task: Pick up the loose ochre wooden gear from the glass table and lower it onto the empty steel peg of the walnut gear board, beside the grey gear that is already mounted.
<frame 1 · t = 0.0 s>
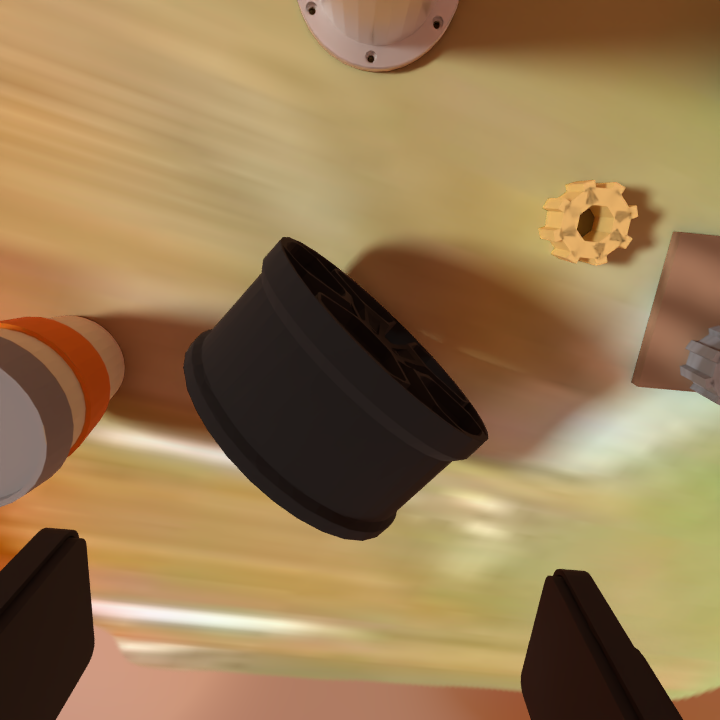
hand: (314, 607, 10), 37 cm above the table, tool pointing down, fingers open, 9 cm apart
reusable coffee cup: (78, 361, 47), on the table
car wheel rim: (345, 344, 47), on the table
ochre gear: (577, 221, 43), on the table
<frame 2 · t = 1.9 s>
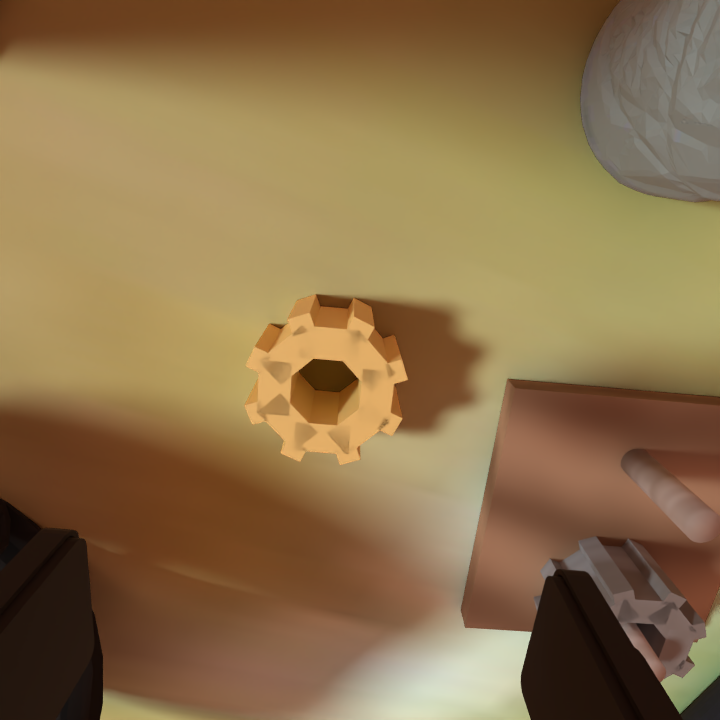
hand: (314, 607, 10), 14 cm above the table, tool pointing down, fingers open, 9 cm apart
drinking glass: (676, 85, 20), on the table
ochre gear: (329, 363, 24), on the table
gear board: (603, 513, 26), on the table
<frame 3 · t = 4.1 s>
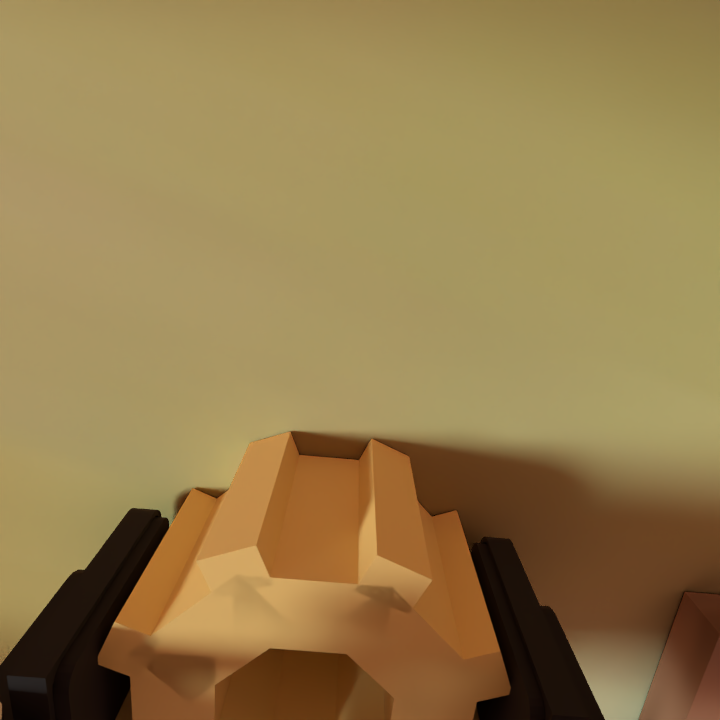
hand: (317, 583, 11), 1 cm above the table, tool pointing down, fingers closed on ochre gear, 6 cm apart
ochre gear: (320, 562, 11), on the table, touching gripper
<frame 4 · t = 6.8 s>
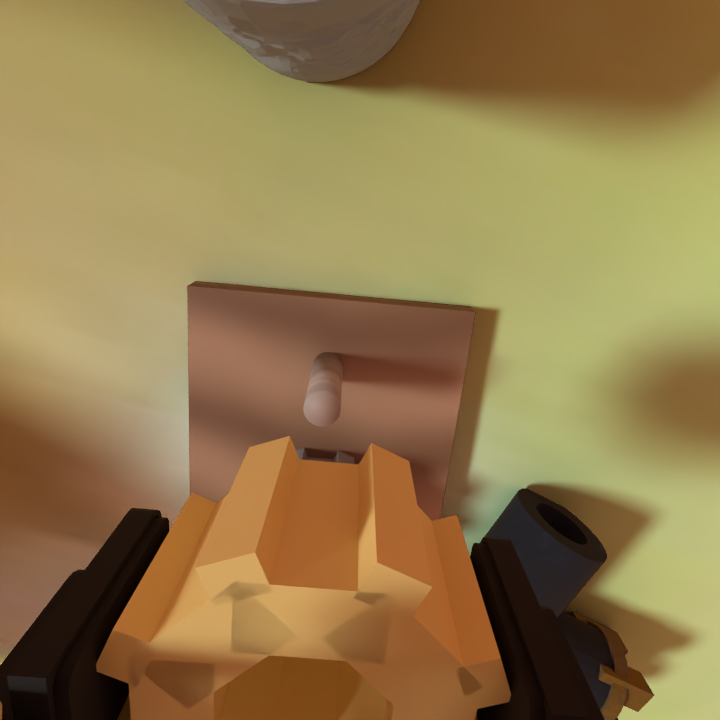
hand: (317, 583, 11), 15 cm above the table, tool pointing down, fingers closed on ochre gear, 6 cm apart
ochre gear: (319, 567, 11), point 14 cm above the table, touching gripper
gear board: (323, 427, 26), on the table
pipe connector: (514, 608, 31), on the table
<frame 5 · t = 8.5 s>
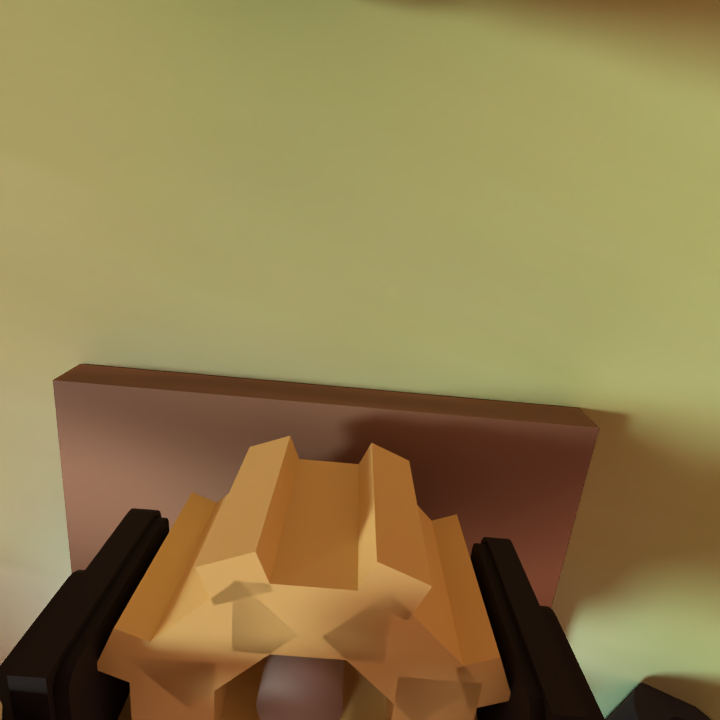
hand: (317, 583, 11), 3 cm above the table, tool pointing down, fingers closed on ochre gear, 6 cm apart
ochre gear: (319, 566, 11), point 3 cm above the table, touching gripper
gear board: (315, 601, 15), on the table
when the fingers open (3 cm above the table, at t = 9.8 s): ochre gear drops 1 cm, resting on gear board.
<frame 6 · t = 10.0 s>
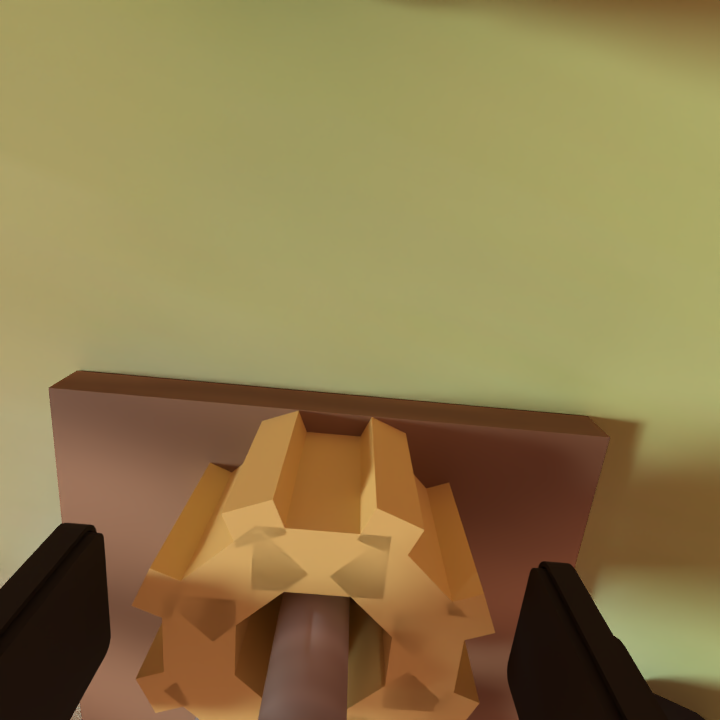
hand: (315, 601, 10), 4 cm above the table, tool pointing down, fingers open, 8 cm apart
ochre gear: (325, 531, 13), point 1 cm above the table, touching gear board
gear board: (317, 613, 15), on the table
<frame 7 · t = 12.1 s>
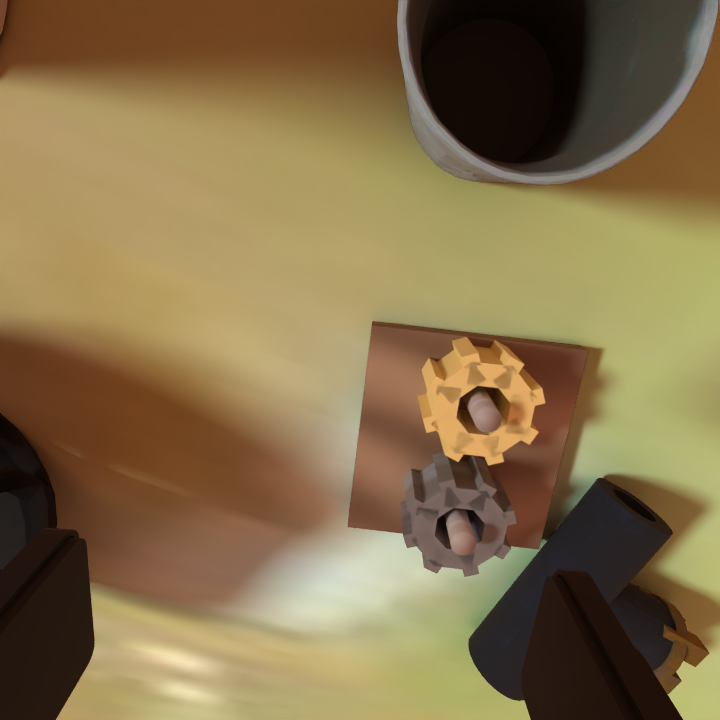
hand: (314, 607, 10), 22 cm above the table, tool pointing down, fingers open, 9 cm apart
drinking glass: (481, 100, 28), on the table
ochre gear: (471, 388, 31), point 1 cm above the table, touching gear board
gear board: (457, 436, 33), on the table
pipe connector: (586, 582, 36), on the table
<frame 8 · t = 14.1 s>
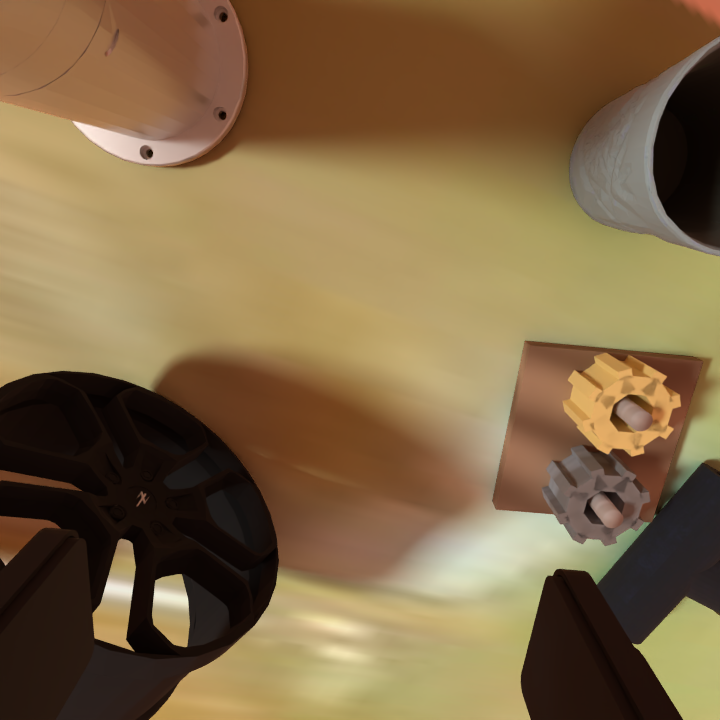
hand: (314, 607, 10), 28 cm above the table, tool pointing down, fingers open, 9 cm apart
car wheel rim: (163, 461, 41), on the table
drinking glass: (626, 163, 34), on the table
ochre gear: (606, 394, 38), point 1 cm above the table, touching gear board
gear board: (587, 432, 40), on the table
pipe connector: (682, 548, 44), on the table
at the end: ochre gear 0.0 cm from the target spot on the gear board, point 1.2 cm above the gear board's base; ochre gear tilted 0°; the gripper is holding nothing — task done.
